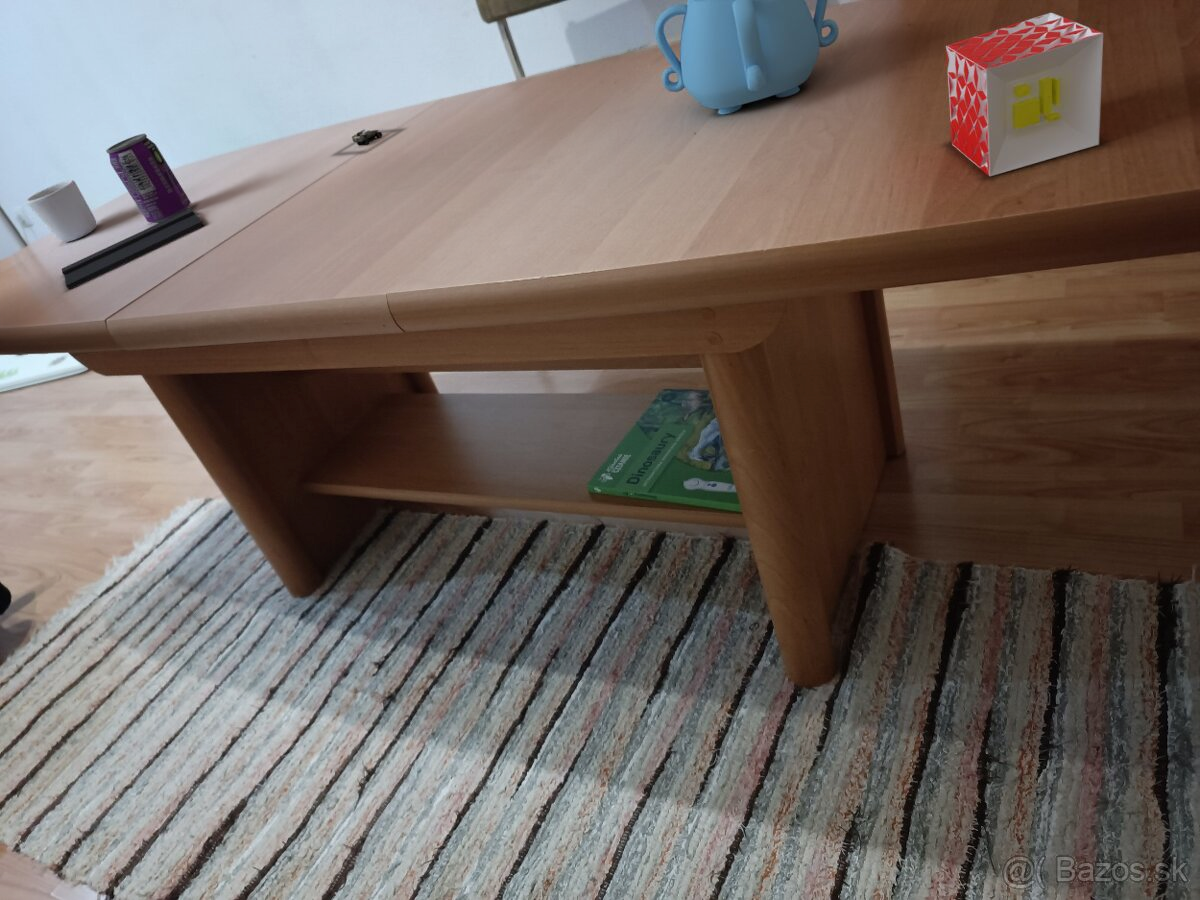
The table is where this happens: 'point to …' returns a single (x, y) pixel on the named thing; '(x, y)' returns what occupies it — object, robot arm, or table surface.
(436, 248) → the table surface
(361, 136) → the toy car
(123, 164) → the beverage can
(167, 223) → the slotted black track
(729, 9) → the decorative pot
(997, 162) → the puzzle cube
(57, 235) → the cup
